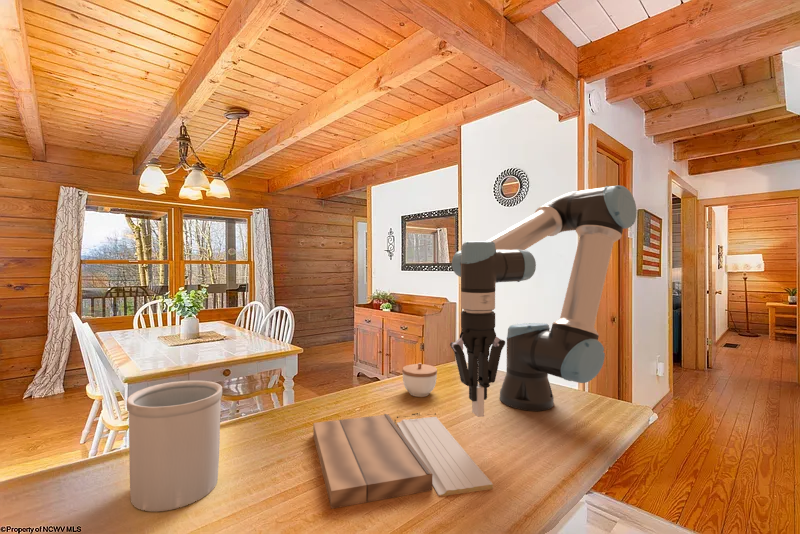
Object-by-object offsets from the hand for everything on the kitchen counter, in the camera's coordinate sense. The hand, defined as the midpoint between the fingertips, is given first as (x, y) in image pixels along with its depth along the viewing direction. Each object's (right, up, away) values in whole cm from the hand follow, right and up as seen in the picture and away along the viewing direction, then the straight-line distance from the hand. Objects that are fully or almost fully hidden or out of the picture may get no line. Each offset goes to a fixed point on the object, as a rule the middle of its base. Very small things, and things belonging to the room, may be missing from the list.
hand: (478, 414), depth 90 cm
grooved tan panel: (-25, -7, -7) cm, 27 cm away
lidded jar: (-12, -6, +33) cm, 36 cm away
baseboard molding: (-10, -8, -3) cm, 13 cm away
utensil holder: (-58, -7, -18) cm, 61 cm away
